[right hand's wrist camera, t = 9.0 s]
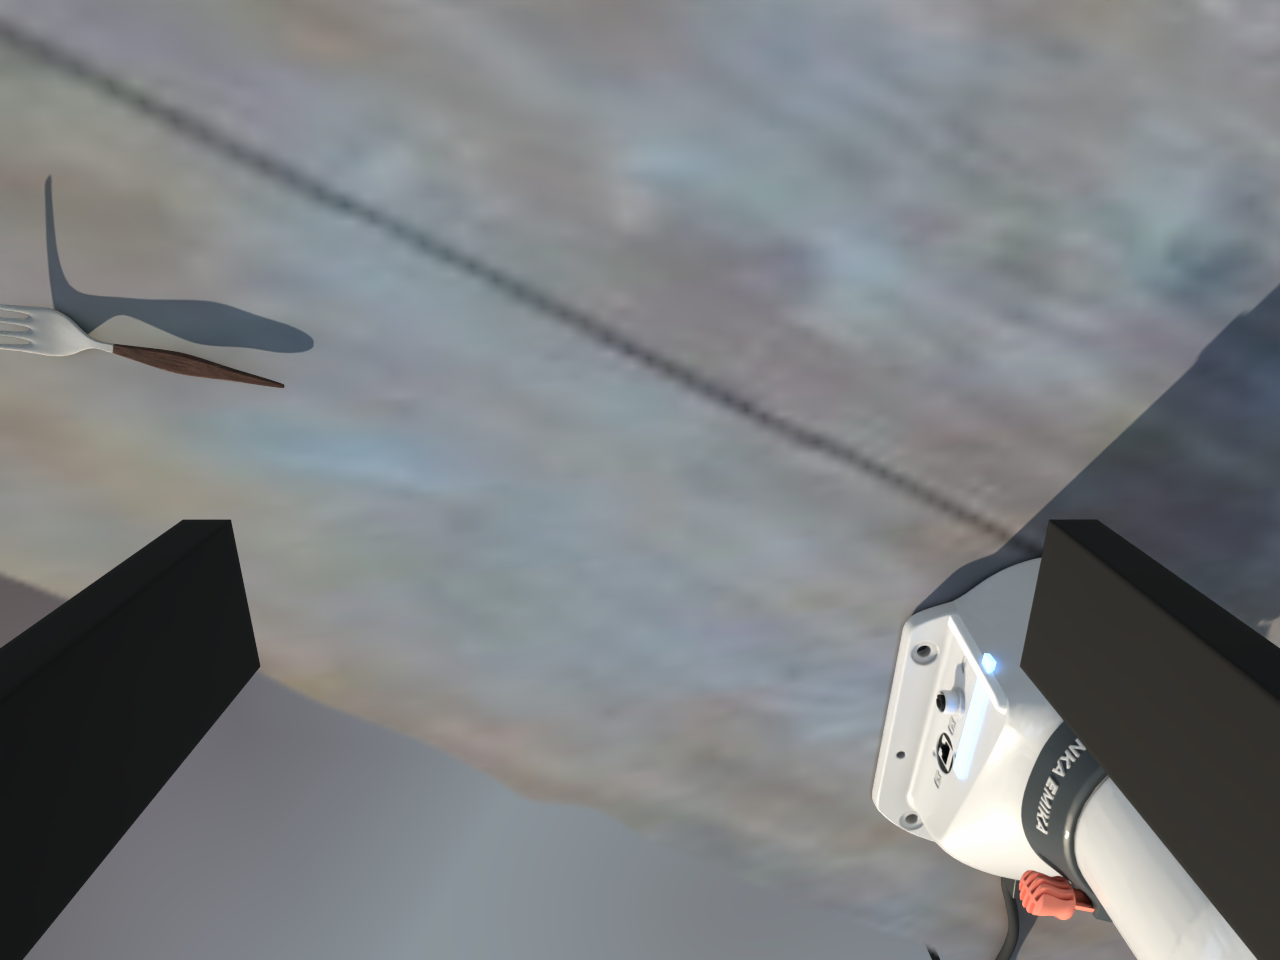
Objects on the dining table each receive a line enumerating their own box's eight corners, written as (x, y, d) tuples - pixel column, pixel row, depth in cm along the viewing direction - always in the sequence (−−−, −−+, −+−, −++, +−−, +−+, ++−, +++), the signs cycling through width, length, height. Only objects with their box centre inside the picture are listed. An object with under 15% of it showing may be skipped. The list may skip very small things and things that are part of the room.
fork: (286, 406, 43) (270, 416, 41) (-10, 341, 42) (-40, 348, 40) (289, 361, 42) (273, 369, 40) (-12, 293, 41) (-44, 298, 39)
